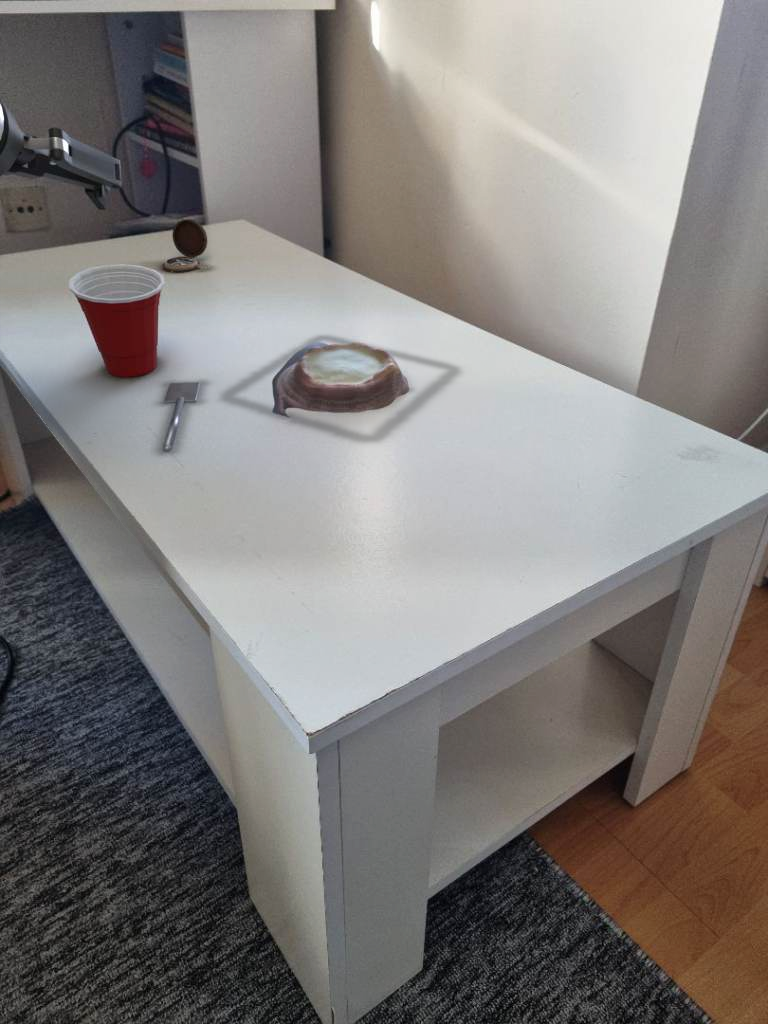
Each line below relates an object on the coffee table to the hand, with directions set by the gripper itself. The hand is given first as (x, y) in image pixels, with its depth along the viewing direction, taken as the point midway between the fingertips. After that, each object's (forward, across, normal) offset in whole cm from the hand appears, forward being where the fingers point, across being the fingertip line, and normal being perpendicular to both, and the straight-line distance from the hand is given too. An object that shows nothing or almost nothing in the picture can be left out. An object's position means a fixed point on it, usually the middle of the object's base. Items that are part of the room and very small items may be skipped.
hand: (33, 196), depth 83 cm
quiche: (+8, +32, -20) cm, 39 cm away
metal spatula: (+3, +13, -23) cm, 27 cm away
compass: (+50, +11, +2) cm, 51 cm away
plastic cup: (+15, +7, -18) cm, 24 cm away
